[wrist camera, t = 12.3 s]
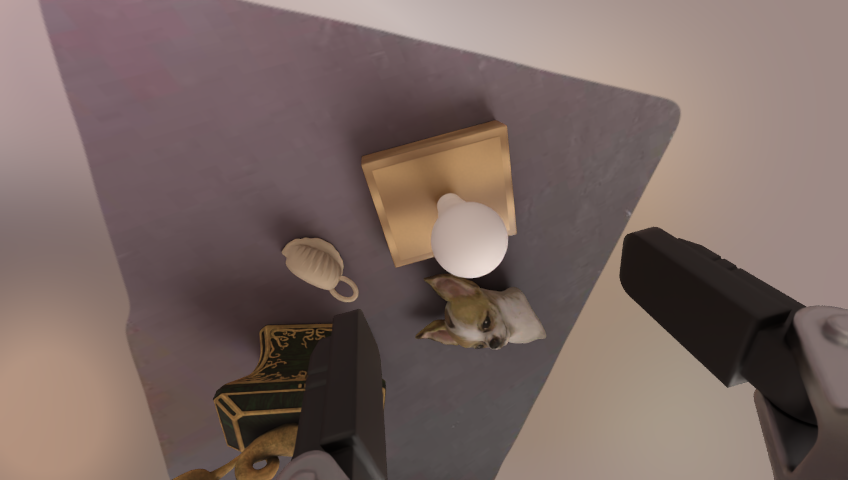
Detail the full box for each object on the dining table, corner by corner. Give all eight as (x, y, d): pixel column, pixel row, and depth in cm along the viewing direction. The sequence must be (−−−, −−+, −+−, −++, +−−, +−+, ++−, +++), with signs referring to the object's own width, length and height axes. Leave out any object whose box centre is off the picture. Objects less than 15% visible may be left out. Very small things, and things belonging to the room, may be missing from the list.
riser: (361, 156, 33) (360, 164, 30) (496, 119, 33) (507, 125, 30) (393, 253, 39) (395, 268, 36) (507, 222, 39) (517, 234, 37)
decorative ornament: (301, 225, 35) (291, 250, 31) (363, 264, 39) (363, 292, 34) (280, 251, 36) (267, 279, 32) (343, 286, 40) (340, 316, 35)
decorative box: (382, 316, 43) (393, 485, 26) (379, 367, 48) (386, 539, 31) (214, 319, 40) (100, 519, 23) (228, 374, 44) (142, 574, 27)
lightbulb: (468, 231, 35) (505, 296, 26) (412, 225, 34) (430, 291, 25) (483, 177, 33) (532, 227, 23) (424, 168, 31) (449, 217, 22)
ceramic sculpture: (539, 379, 40) (418, 378, 38) (515, 328, 48) (413, 326, 46) (567, 311, 35) (430, 306, 33) (536, 267, 43) (422, 260, 41)
